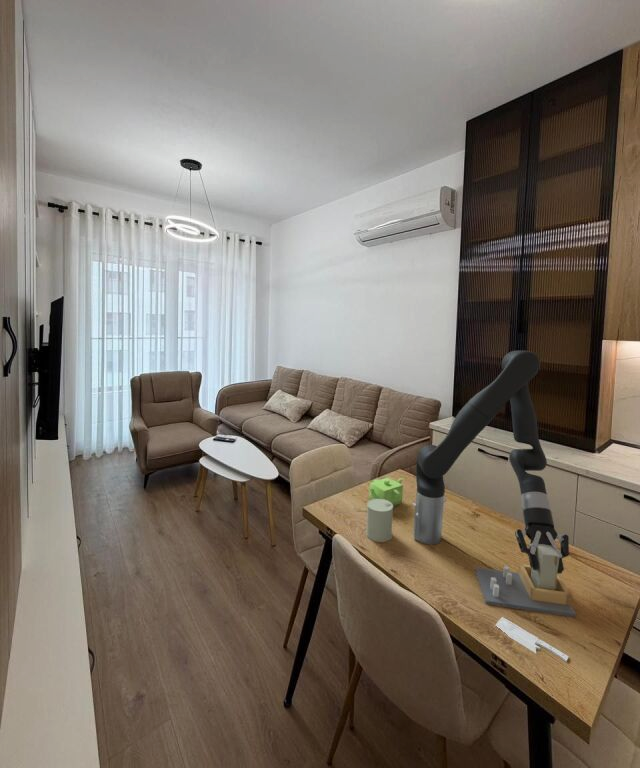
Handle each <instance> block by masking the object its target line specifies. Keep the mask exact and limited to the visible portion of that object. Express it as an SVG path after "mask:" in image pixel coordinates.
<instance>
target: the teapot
mask: <svg viewBox="0 0 640 768" xmlns="http://www.w3.org/2000/svg"><path fill="white" fill-rule="evenodd" d="M404 479H405V478H404V477H400V478H398V480H397V481H396V480H394V479H392V478H391V477H385V478H382V479H374V480H373V481H371V482H370V483H369V488H367V490H369V496H368V497H369V499H368V501H370V500H372V499H384V500H387V501H389V502H391V503H392V504H393V507H397V505H400V504H403V490H404V485H403V484H402V481H404Z"/></svg>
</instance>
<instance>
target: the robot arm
mask: <svg viewBox="0 0 640 768" xmlns="http://www.w3.org/2000/svg"><path fill="white" fill-rule="evenodd" d="M540 367H541V360H540V358H539V356H538V354H536V353H535V352H533V351H530V350H512V351H510V352H508V353H507V354H505V355H504V357H503V358H502V361H501V368H502V371H501V372H500V374H498V376H497V377H496V378H495V379H494V381H492V382H491V383H489V385H487V386H486V387H484V388H483V389H482V390H480V391H479V392H477V393H476V394H475V395H474V396H472V397H471V398H470V399H469V400H468V401H467V402H466V403H465V405H463V407H462V408H461V409H460V410H459V411H458V412H457V415H456V416H455V417H454V420H453V422H452V424H451V426H450V429H449V430H448V433H447V435H446V436H444V437H445V438H444V439H443V440H442V441H441V442H440V443H439V444H438V445H434V444H427V445H425V446H423V447H421V448H420V449H419V451H418V452H417V457H416V473H415V474H416V475H415V476H416V478H415V479H416V480H415V481H416V498H415V499H416V500H415V502H416V506H415V507H414V522H413V537H414V538H413V539H414V540H415V541H418V542H420V543H422V544H426V545H437V544H439V543H440V542H441V540H442V533H443V532H442V531H443V518H444V517H443V516H444V502H445V501H444V498H445V492H446V490H445V489H446V486H445V482H444V481H445V480H444V476H445V475H446V474H447V473H448V471H449V470H450V469H451V468H452V467H453V465H454V464H455V463H456V461H457V460H458V458H459V457H460V455H461V454H462V453H463V451H464V450H465V449H466V448H467V447H468V446H469V445H470V444H471V443H472V442H473V441H474V440H475V439H476V437H477V436H478V435H480V433H481V432H482V431H483V430H484V429H485V428H486V427H487V426H488V425H489V423H490V422H491V421H493V419H494V418H495V417H496V416H497V414H499V412H500V411H502V409H503V408H504V407H505V406H506V405H507V403H508V402H509V401H510V402H509V403H510V410H511V411H510V412H511V419H512V421H511V423H512V431H513V434H512V435H513V439H514V441H515V442H516V443H518V444H519V443H520V444H526V445H530V446H531V447H532V448H518V449H517V448H516V449H513V450H511V451H510V453H509V455H508V459H509V463H510V465H511V467H512V470H513V471H514V473H515V475H516V478H517V480H518V485H519V490H520V495H521V509H522V512H523V513H522V515H523V521H524V526H525V528H524V529H517V530H515V531H514V534H515V537H516V540H517V541H516V542H517V544H518V547H519V549H520V552H521V553H525V554H526V555H528V561H529V565H530V566H531V568H533V570H538V564H537V558H536V555H535V551H536V548H537V546H538V544H545V545H552V547H553V548H554V549H555V550H556V552H557V553H558V555H559V556H560V558H559V565H558V572H557V574H558V575H559V574H562V573H563V572H564V570H565V568H564V563H563V559H564V558H567V557H568V556H570V551H569V550H570V549H569V548H570V547H569V546H570V542H569V539H570V538H569V537H570V536H569V535H568V534H561V533H558V532H557V531H556V529H555V522H554V518H553V514H552V510H551V509H552V508H551V504H550V500H549V498H548V493H547V489H546V484H545V480H544V478H543V477H541V476H540V475H536V474H531V473H528V472H530V471H531V472H533V471H534V472H536V471H537V472H538V471H543V470H545V469H546V467H547V465H548V461H547V458H546V457H547V456H546V454H545V452H544V450H543V448H542V445H541V442H540V439H539V433H538V421H537V420H538V419H537V415H536V410H535V407H534V403H533V401H532V398H531V394H530V389H529V387H530V386H529V382H530V381H531V380H532V379H533V378H534V377H535V376H536V375H537V374H538V372H539V370H540ZM526 536H527V538H528V539H529V540H530V541H529V544H528V545H529V546H527V544H526V540H525V537H526ZM556 539H557V540H558V543H559V544H560V550H559V546H558V545H557V543H556Z"/></svg>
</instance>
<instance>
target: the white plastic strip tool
mask: <svg viewBox="0 0 640 768" xmlns="http://www.w3.org/2000/svg"><path fill="white" fill-rule="evenodd" d="M495 626H497V627H498V628H500V629H501V630H502V631H503V632H505V633H506V634H507V635H508V636H507V635H506V634H505V635H506V636H507V637H509V638H511V639H512V640H514V641H515V642H517V643H519V644H520V645H521V646H523V647H525V648H527V649H528V650H529V651H531V652H532V653H535V654H537V650H538V651H539V650H541V648H542V649H545V650H547V651H549V652H550V653H552V654H553V655H555V656H556V657H558V658H559V659H561V660H562V661H564V662H565V663H567V662H568V660H569V659H570V656H569V655H567V654H565V653H563V652H562V651H561V650H559V649H557V648H555V647H554V646H552V645H550V644H549V643H547V642H545V641H544V640H542V639H540V638H539V637H537V636H536V635H534V634H532V633H530V632H528V631H527V630H525V629H524V628H522V627H521V626H518V625H517V624H516V623H514V622H512V621H510V620H508V619H506V618H505V617H504V616H501V618H499V620H498V621H497V622H496V623H495V625H494V627H495ZM503 632H502V633H503Z"/></svg>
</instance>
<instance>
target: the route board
mask: <svg viewBox="0 0 640 768" xmlns="http://www.w3.org/2000/svg"><path fill="white" fill-rule="evenodd" d="M474 571H475V573H476V577H477V580H478V583H479V587H480V591H481V593H482V596H483V600H484V603H485V604H486V605H492V606H498V607H504V608H505V607H506V608H511V609H519V610H524V611H531V612H537V613H538V612H539V613H543V614H544V613H545V614H551V615H558V616H565V617H572V618H576V617H577V613H576V612H575V610H574V608H573V606H572V605H571V599H572V594H571V592H570V591H569V590H568V588H567V587H566V585H565V584H564V582H563V580H562V579H561V577H560V576H559V574H558V573H557V579H556V586H555V591H554V590H547V589H540V588H535V587H534V585H533V583H532V581H531V571H532V568H531V566H530V564H522V563H519V564H518V572H515V571H510V567H509V566H508V565H506V566H505V565H504V566H503V569H502V570H501V569H500V570H499V569H490V568H483V567H477V566H475V567H474Z"/></svg>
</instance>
